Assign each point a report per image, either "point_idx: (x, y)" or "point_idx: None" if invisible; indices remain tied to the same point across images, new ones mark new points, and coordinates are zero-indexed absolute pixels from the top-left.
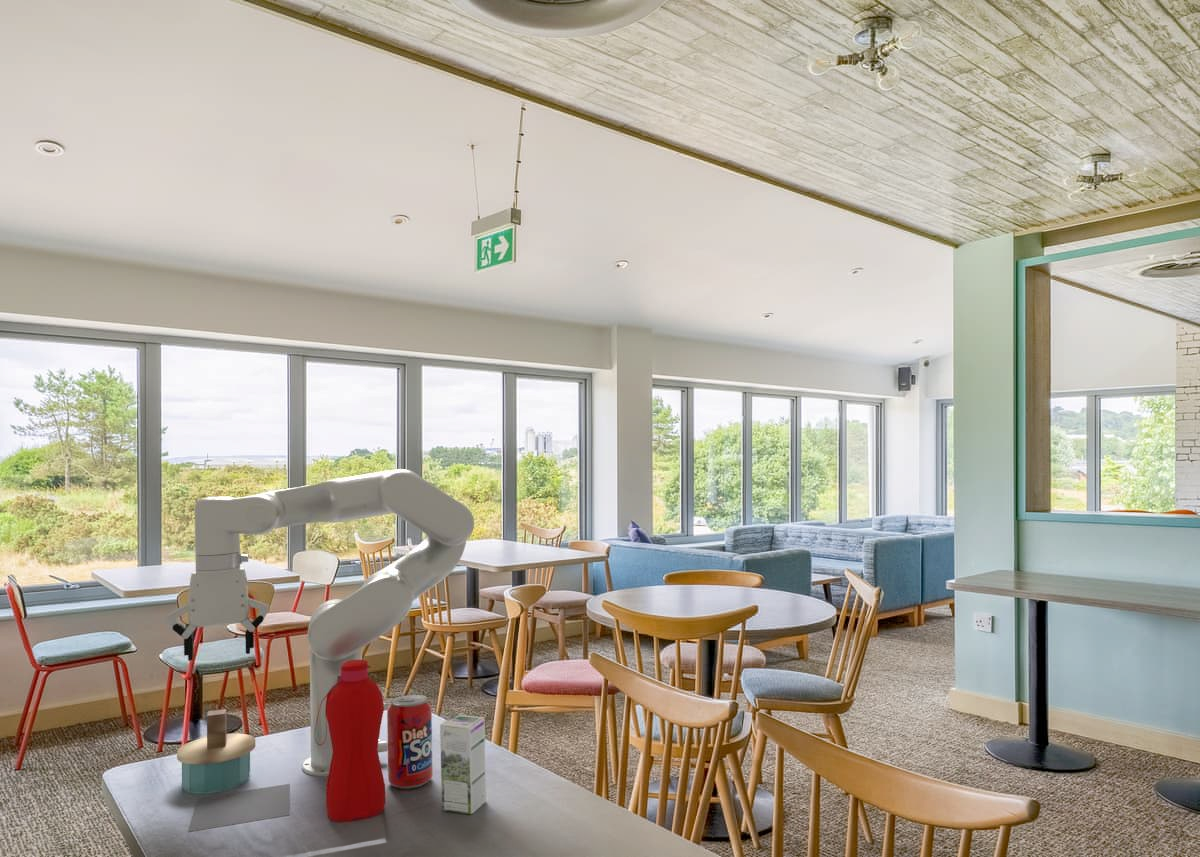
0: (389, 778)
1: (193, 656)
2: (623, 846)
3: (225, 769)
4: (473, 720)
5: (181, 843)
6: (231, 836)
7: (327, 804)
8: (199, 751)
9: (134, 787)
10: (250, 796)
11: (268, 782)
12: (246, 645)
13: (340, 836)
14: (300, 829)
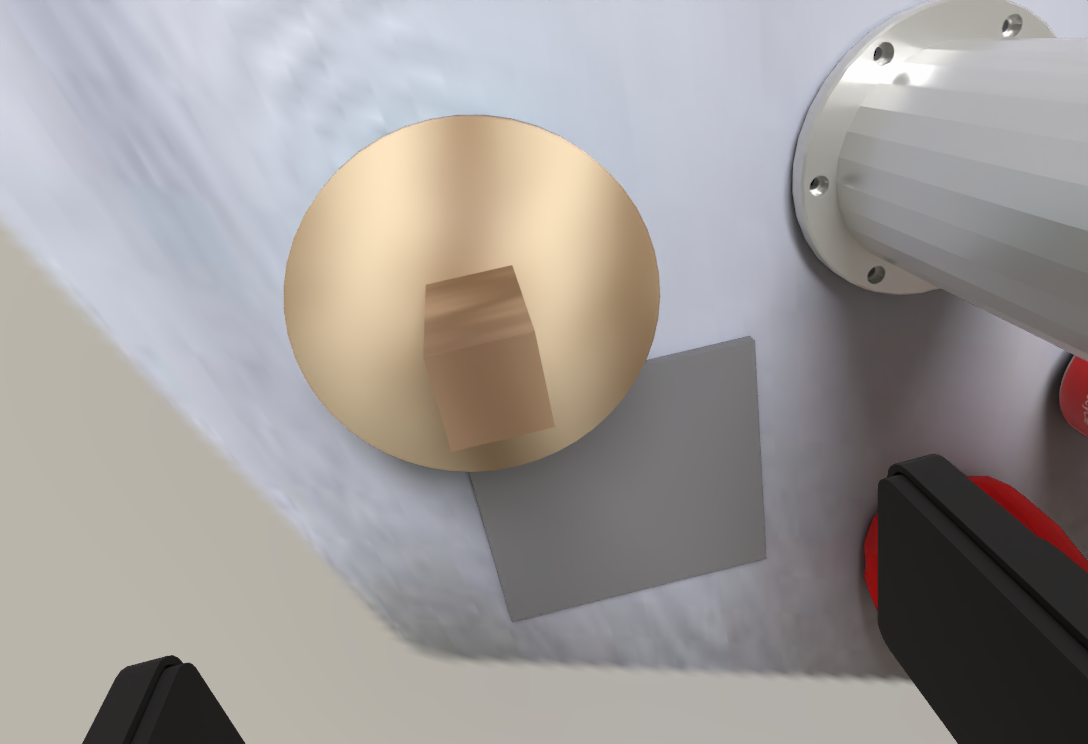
0: (1071, 412)
1: (206, 695)
2: None
3: None
4: None
5: (508, 646)
6: (626, 623)
7: (873, 552)
8: (419, 385)
9: (97, 222)
10: (635, 426)
11: (669, 275)
12: (956, 721)
13: (878, 639)
14: (790, 604)
